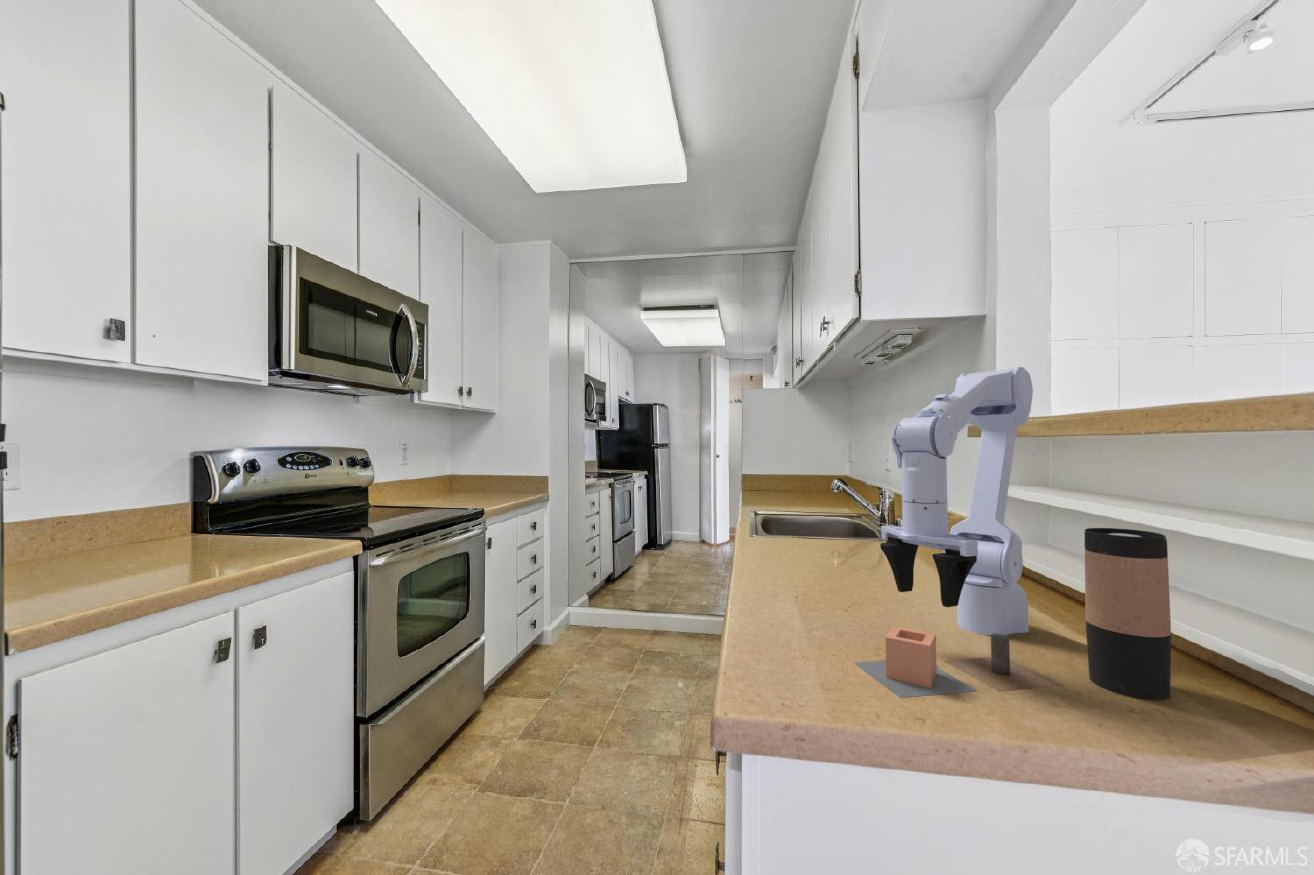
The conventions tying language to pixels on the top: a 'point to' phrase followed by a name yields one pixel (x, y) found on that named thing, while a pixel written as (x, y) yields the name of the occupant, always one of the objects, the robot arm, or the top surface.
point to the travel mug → (1128, 612)
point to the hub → (904, 689)
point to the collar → (911, 656)
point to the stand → (1002, 669)
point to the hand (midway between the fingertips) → (926, 598)
